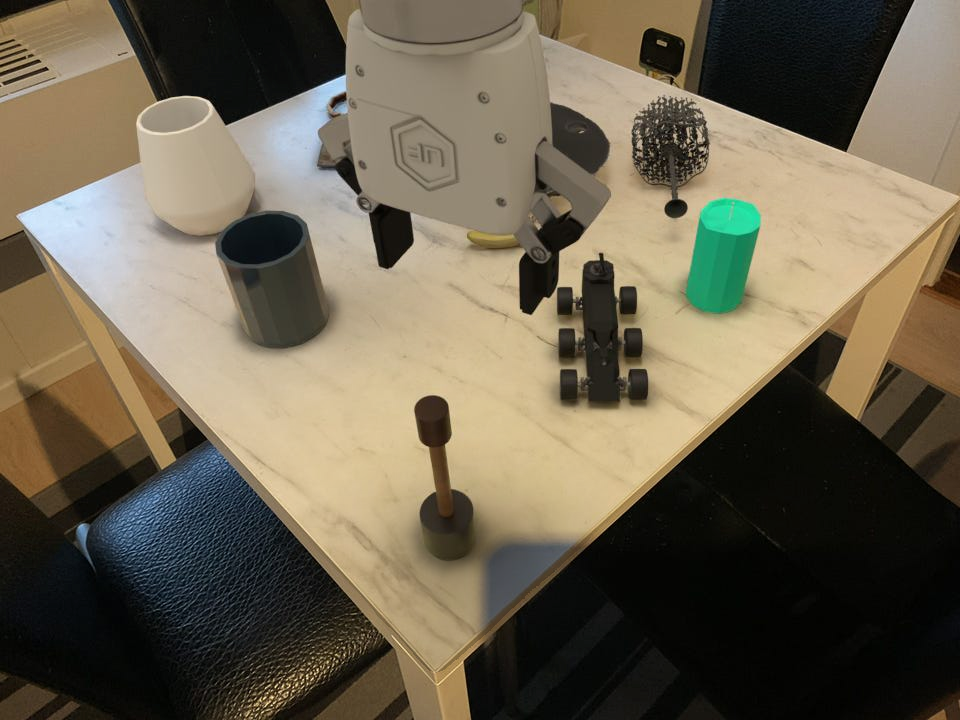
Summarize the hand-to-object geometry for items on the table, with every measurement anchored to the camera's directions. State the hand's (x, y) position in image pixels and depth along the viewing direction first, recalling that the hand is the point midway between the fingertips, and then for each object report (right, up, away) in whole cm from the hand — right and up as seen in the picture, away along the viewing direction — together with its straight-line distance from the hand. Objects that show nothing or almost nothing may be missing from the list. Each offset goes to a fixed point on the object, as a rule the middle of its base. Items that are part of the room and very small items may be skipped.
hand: (464, 276), depth 48 cm
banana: (+4, +8, +46) cm, 47 cm away
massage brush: (+25, +17, +52) cm, 60 cm away
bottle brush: (-2, -20, +19) cm, 28 cm away
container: (-20, -1, +39) cm, 44 cm away
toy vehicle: (+13, -4, +33) cm, 36 cm away
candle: (+26, +2, +38) cm, 46 cm away
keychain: (-18, +27, +65) cm, 73 cm away
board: (+7, +19, +56) cm, 59 cm away
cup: (-33, +13, +53) cm, 64 cm away
